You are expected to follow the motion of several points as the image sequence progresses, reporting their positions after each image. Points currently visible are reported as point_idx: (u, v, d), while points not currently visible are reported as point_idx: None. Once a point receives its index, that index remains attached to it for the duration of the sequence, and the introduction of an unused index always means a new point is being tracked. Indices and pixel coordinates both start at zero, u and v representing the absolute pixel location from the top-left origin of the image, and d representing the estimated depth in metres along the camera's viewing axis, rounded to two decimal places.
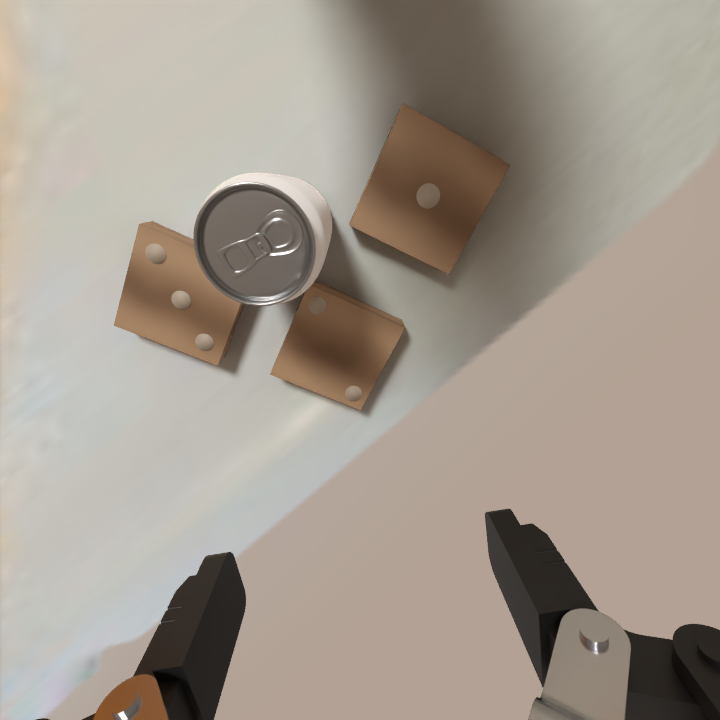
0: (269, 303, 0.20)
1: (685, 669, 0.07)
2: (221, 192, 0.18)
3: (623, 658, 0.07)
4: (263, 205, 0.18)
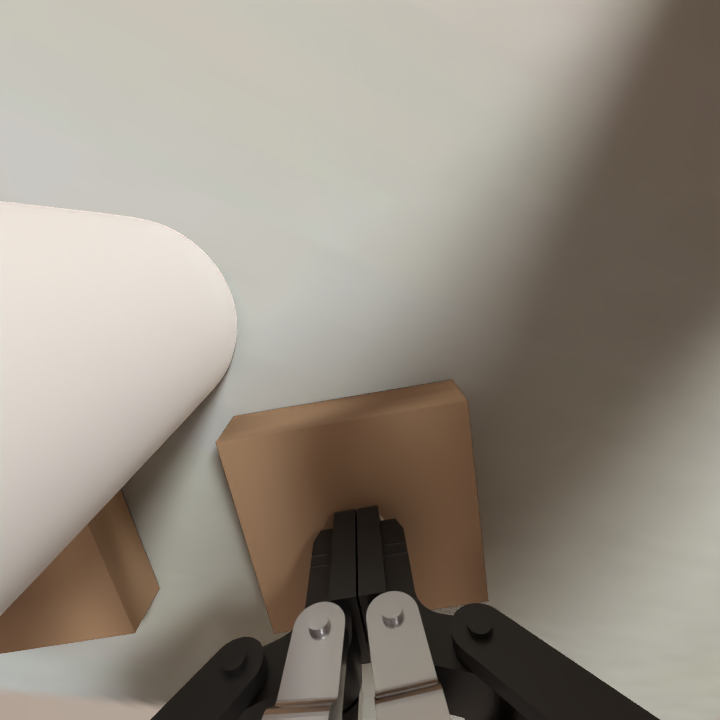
0: None
1: (468, 656, 0.08)
2: None
3: (405, 631, 0.09)
4: None
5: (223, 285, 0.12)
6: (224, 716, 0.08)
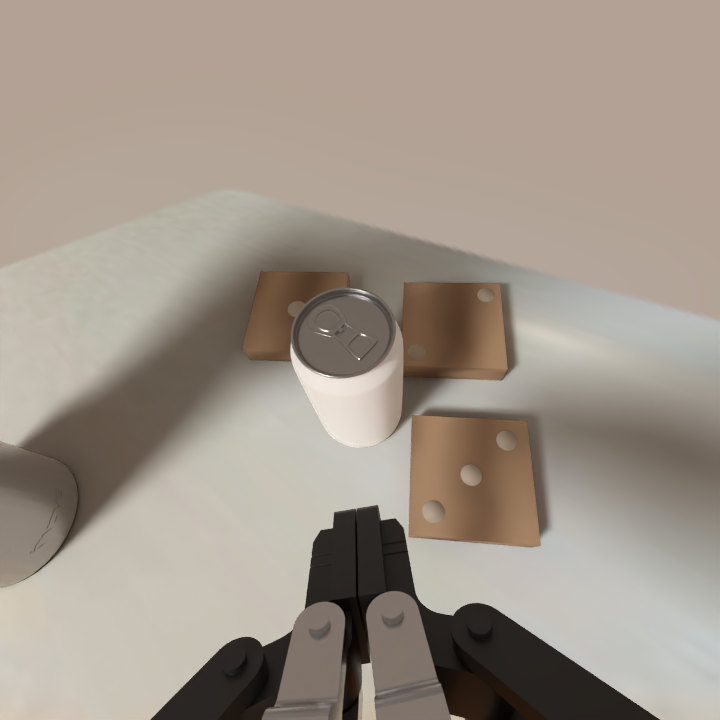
0: (386, 307, 0.22)
1: (468, 656, 0.08)
2: (307, 365, 0.21)
3: (405, 631, 0.09)
4: (309, 337, 0.22)
5: None
6: (224, 716, 0.08)
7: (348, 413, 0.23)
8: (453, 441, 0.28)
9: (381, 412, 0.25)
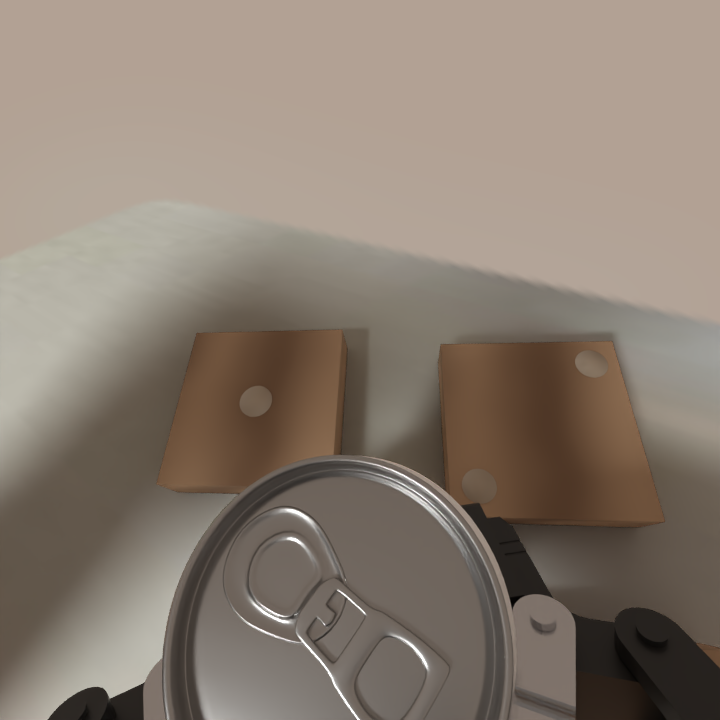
0: (465, 529, 0.07)
1: (627, 653, 0.08)
2: None
3: (567, 639, 0.08)
4: (225, 642, 0.07)
5: None
6: None
7: None
8: None
9: None
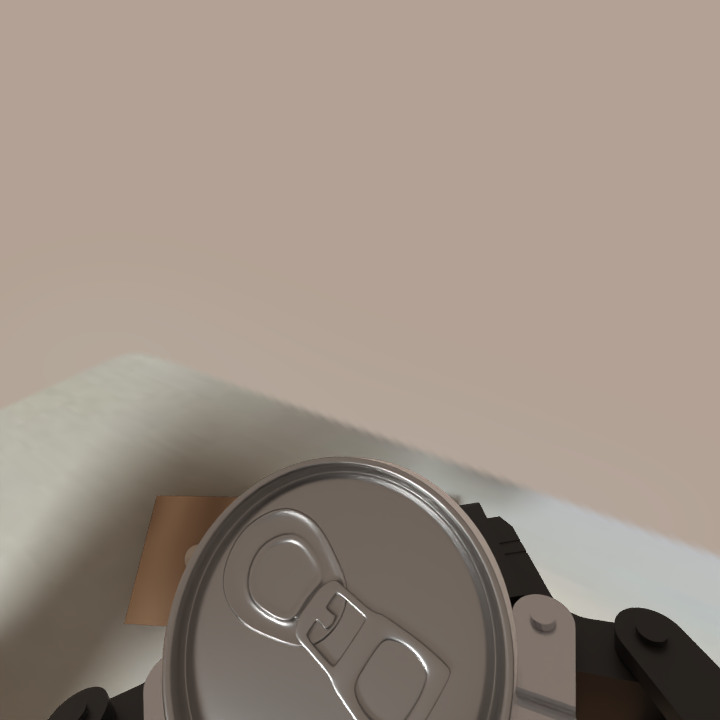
0: (466, 532, 0.07)
1: (627, 653, 0.08)
2: None
3: (567, 639, 0.08)
4: (226, 645, 0.07)
5: None
6: None
7: None
8: None
9: None
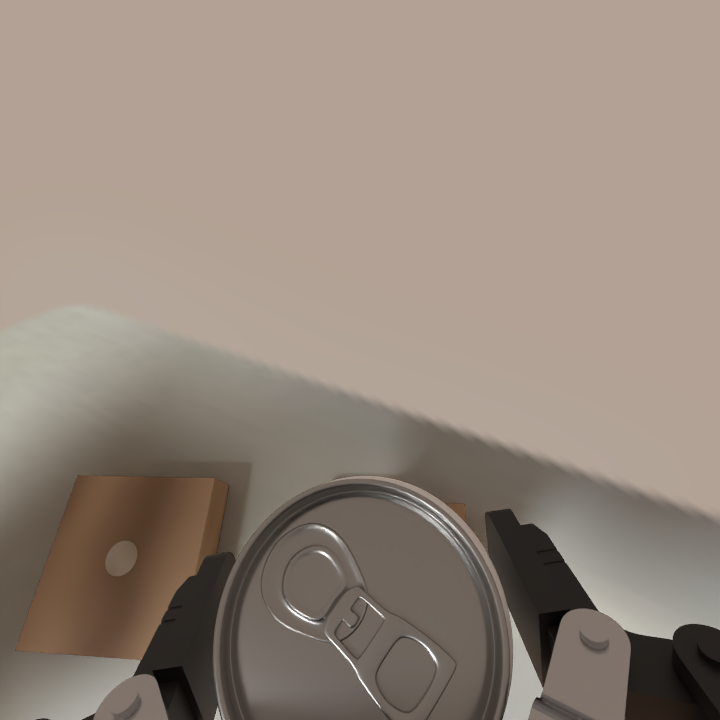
0: (470, 546, 0.08)
1: (685, 669, 0.07)
2: None
3: (623, 658, 0.07)
4: (264, 641, 0.08)
5: None
6: None
7: None
8: None
9: None
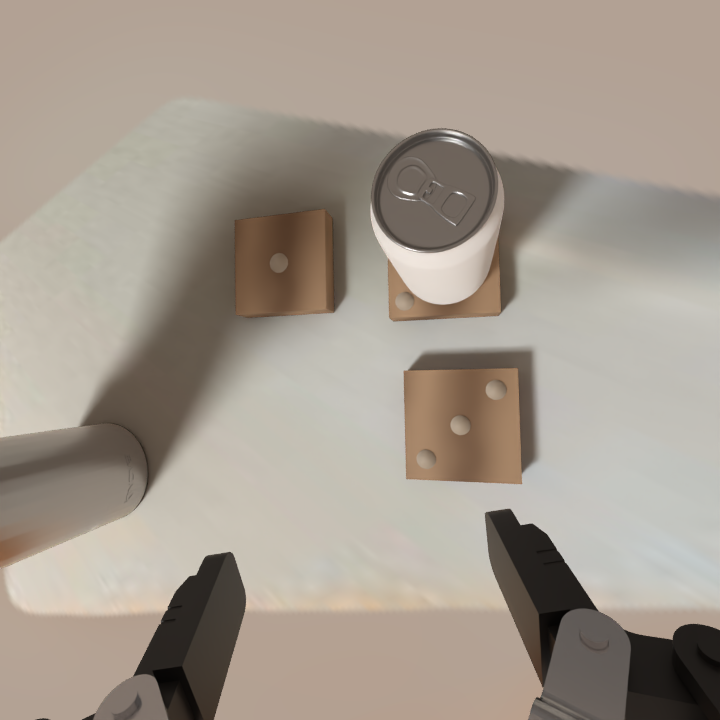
0: (483, 149, 0.18)
1: (685, 669, 0.07)
2: (397, 241, 0.18)
3: (623, 658, 0.07)
4: (392, 205, 0.19)
5: None
6: None
7: (442, 281, 0.22)
8: (443, 394, 0.29)
9: (476, 273, 0.23)
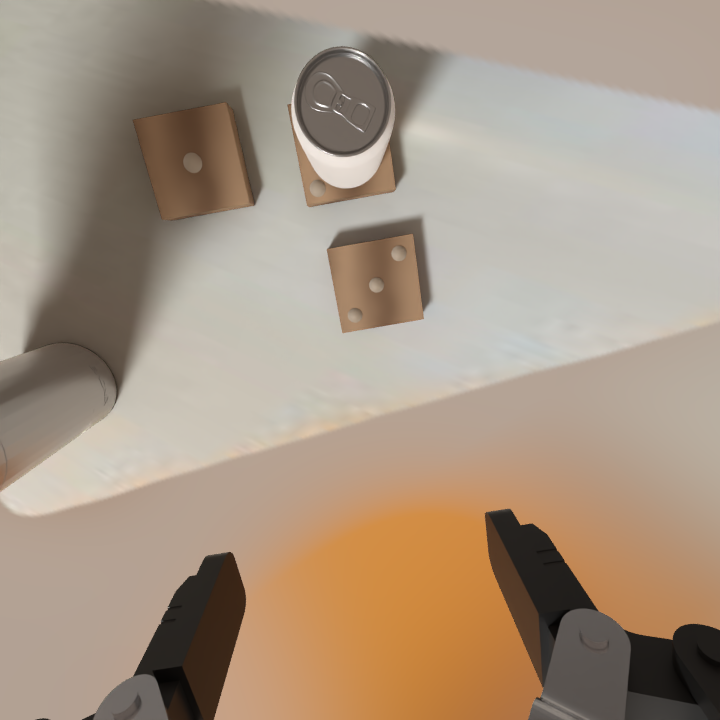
0: (377, 66, 0.23)
1: (685, 669, 0.07)
2: (322, 148, 0.24)
3: (623, 658, 0.07)
4: (313, 117, 0.24)
5: None
6: None
7: (354, 174, 0.28)
8: (360, 263, 0.37)
9: (377, 162, 0.29)
